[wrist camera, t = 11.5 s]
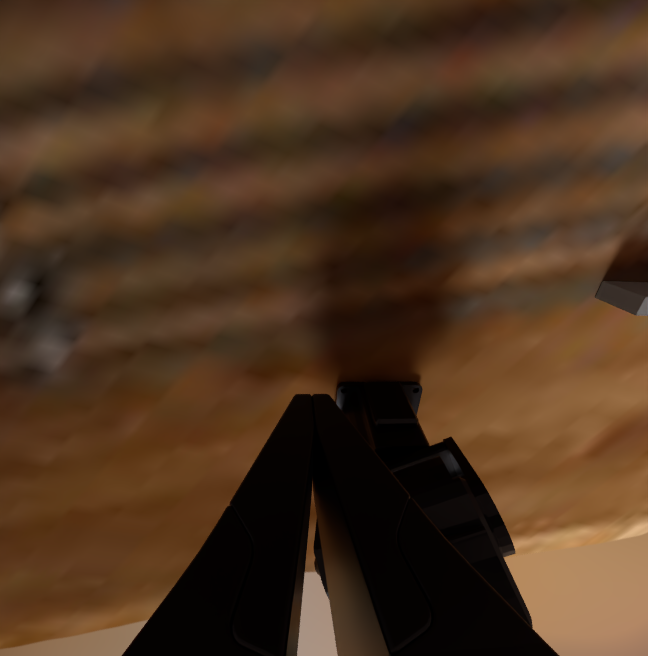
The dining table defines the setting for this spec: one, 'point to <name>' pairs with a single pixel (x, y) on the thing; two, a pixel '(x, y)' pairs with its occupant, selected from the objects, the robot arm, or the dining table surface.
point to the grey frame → (625, 296)
